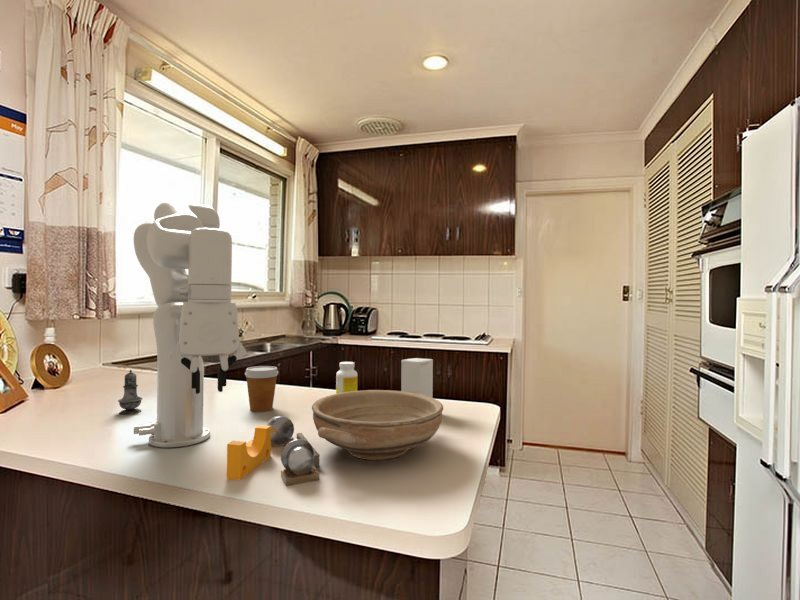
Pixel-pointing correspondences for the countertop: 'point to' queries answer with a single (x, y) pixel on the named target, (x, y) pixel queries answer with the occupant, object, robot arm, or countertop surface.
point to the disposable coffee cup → (261, 387)
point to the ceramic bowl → (377, 421)
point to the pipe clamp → (248, 453)
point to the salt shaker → (130, 396)
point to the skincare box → (417, 376)
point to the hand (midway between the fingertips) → (208, 390)
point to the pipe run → (294, 452)
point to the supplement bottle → (346, 378)
